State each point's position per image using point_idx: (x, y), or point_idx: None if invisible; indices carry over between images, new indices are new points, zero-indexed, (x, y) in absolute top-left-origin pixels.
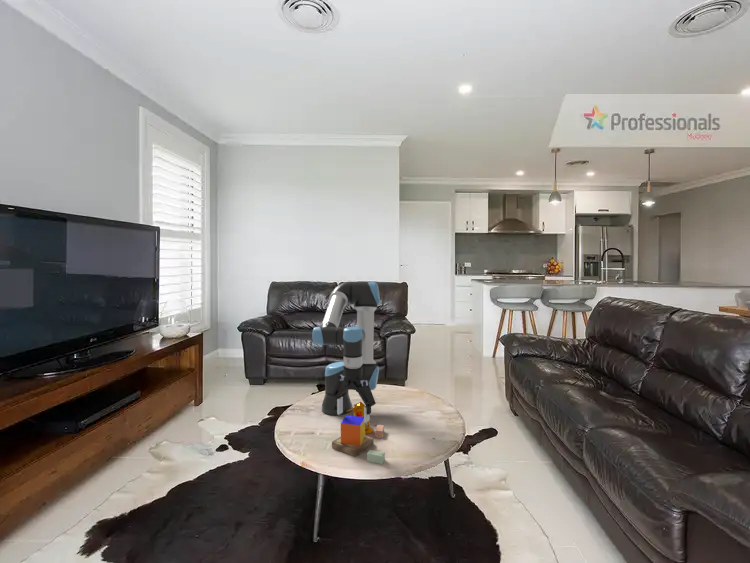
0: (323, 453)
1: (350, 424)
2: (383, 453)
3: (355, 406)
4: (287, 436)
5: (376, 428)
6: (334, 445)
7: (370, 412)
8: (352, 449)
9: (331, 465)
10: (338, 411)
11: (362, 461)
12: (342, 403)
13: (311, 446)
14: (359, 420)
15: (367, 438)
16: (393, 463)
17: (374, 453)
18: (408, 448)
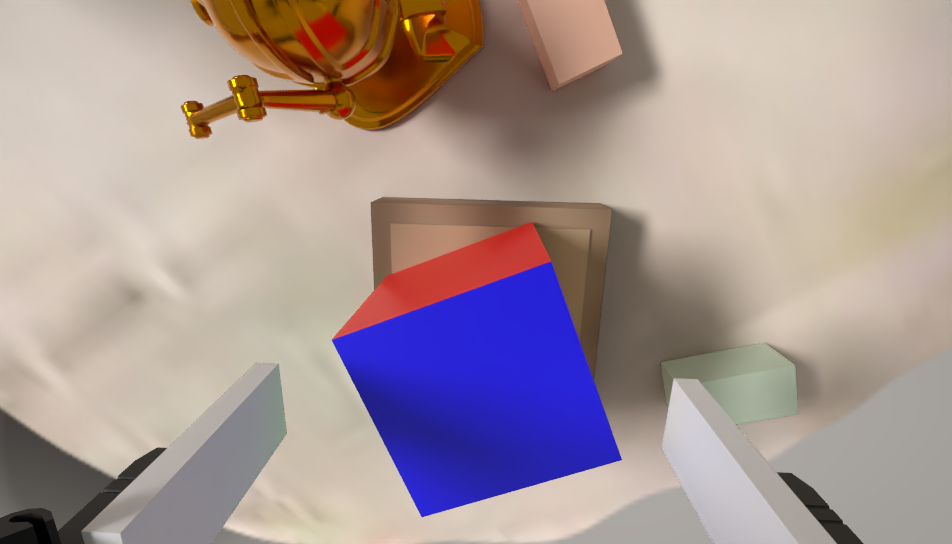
0: None
1: (518, 487)
2: (792, 378)
3: (218, 20)
4: (60, 412)
5: (544, 32)
6: None
7: (811, 507)
8: None
9: (515, 525)
10: (263, 460)
11: (645, 421)
12: (204, 449)
13: None
14: (547, 373)
15: (573, 245)
16: (835, 350)
17: (732, 407)
18: (878, 112)
